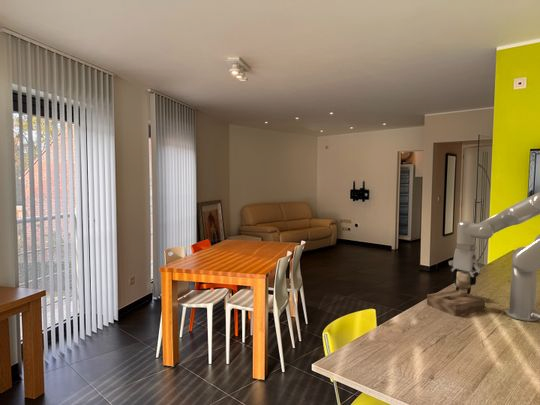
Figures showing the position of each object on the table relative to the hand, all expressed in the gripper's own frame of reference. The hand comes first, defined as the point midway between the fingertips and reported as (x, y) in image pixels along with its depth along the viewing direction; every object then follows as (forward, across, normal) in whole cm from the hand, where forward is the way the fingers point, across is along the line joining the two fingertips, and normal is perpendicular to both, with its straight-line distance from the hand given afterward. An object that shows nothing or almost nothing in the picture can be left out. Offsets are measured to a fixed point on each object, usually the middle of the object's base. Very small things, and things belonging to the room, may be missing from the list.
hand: (463, 282), depth 178 cm
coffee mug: (+12, +10, -13) cm, 20 cm away
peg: (+7, 0, 0) cm, 7 cm away
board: (+12, 0, +5) cm, 13 cm away
